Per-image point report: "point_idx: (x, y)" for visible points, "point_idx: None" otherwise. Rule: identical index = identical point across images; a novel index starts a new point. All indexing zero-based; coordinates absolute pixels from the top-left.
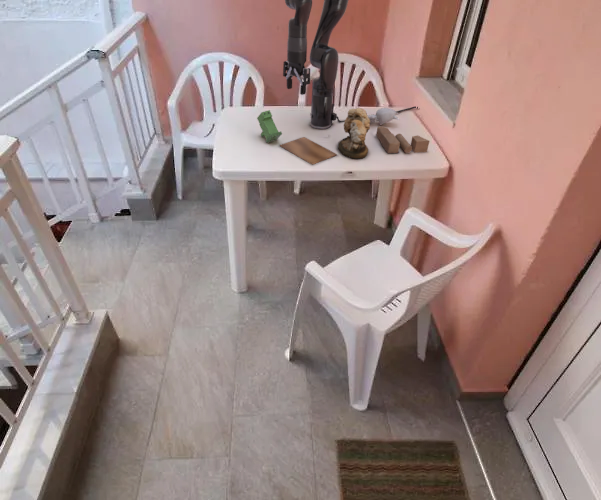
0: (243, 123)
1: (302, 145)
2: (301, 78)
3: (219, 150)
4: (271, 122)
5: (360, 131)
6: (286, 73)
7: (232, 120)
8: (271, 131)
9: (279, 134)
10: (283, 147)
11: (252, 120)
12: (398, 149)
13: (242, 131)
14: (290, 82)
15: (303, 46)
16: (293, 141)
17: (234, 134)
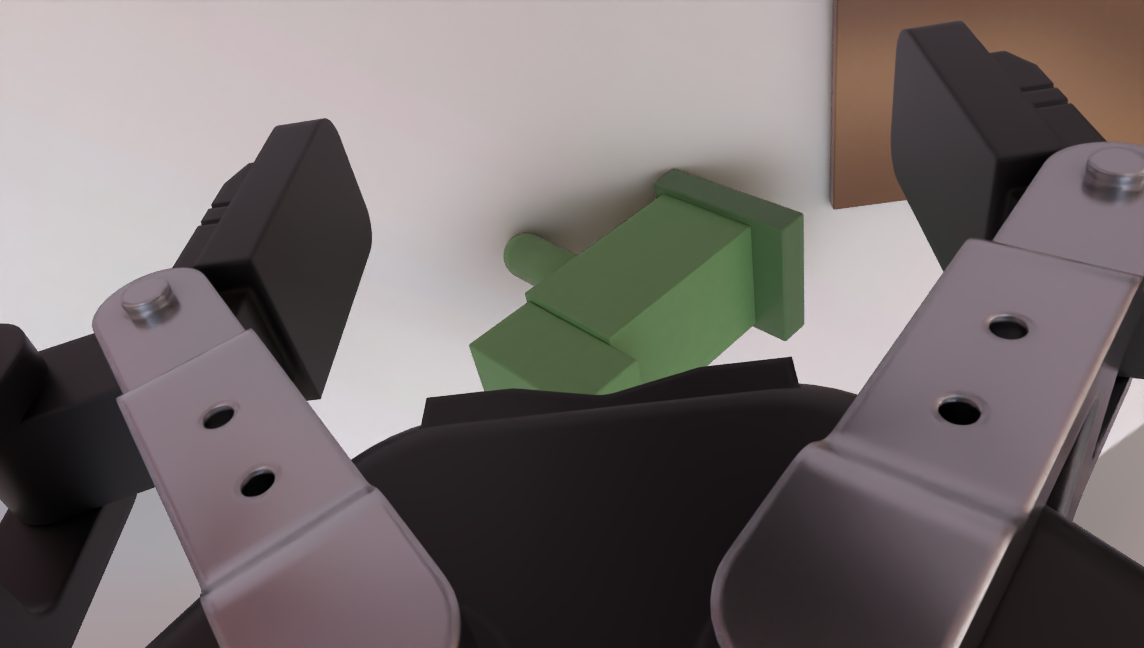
0: (137, 270)
1: (1023, 2)
2: (1079, 479)
3: None
4: (658, 332)
5: None
6: (37, 483)
7: (39, 325)
8: (729, 317)
9: (802, 247)
10: (893, 199)
11: (60, 163)
12: None
13: (339, 343)
14: (309, 264)
15: None
16: (858, 43)
17: (382, 411)
